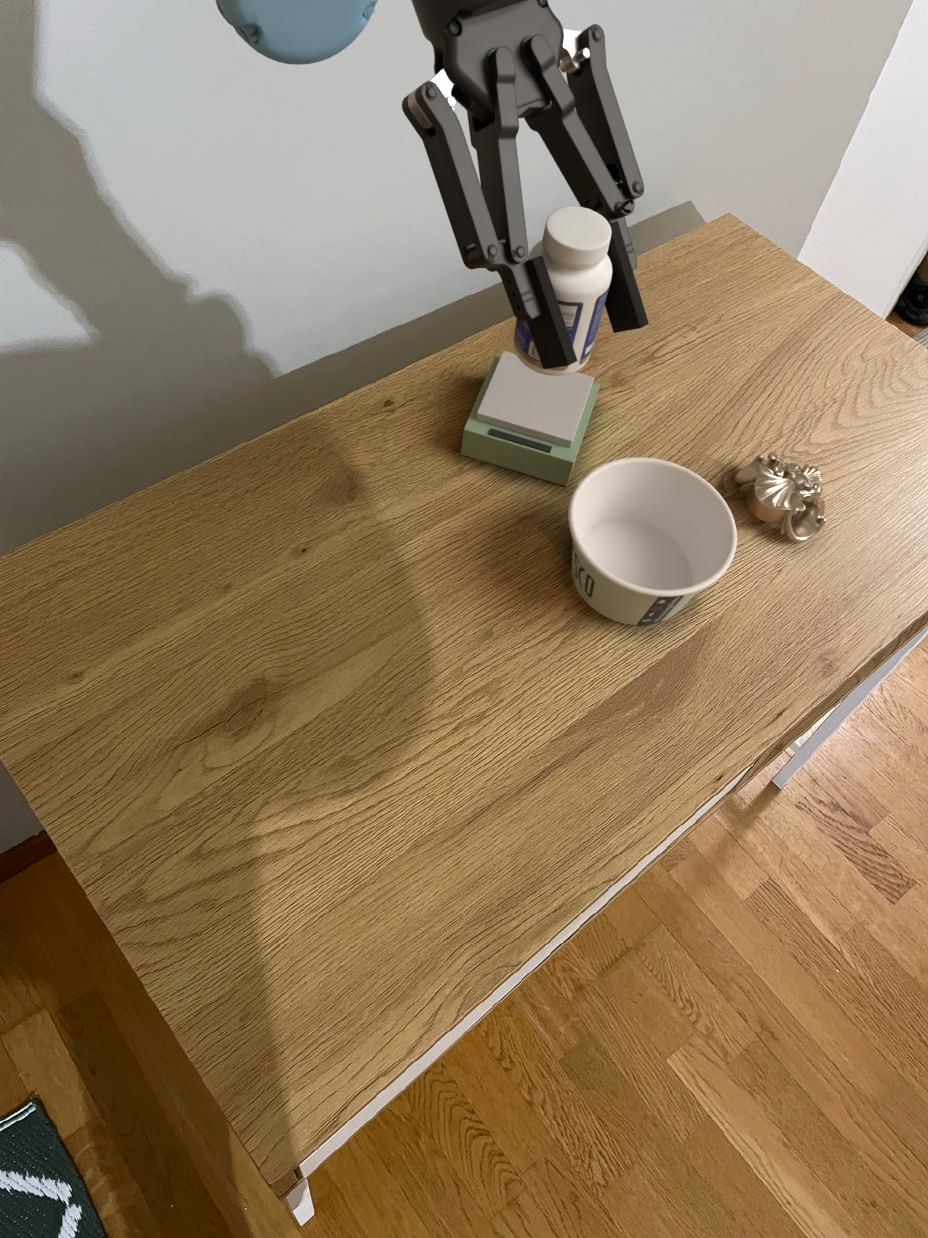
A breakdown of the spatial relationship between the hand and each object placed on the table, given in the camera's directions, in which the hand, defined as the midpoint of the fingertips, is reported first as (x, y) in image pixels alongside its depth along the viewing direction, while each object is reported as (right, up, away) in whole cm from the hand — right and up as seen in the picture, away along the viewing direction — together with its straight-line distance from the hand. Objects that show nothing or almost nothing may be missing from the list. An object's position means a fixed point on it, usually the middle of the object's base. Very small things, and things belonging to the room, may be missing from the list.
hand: (596, 345), depth 60 cm
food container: (+4, -14, +12) cm, 19 cm away
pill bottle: (-2, +1, +4) cm, 5 cm away
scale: (-3, -2, +18) cm, 18 cm away
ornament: (+17, -8, +16) cm, 25 cm away
